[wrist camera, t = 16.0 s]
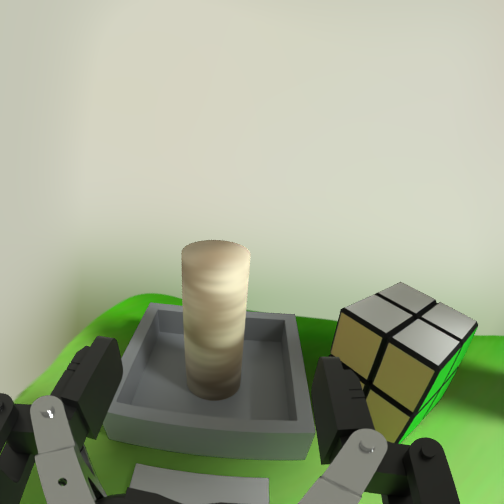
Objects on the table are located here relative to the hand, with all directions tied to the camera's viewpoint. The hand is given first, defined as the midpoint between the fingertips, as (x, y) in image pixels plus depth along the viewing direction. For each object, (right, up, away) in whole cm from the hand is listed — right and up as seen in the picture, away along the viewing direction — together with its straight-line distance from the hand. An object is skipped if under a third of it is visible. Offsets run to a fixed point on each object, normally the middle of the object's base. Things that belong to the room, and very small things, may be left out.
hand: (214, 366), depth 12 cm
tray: (-2, -8, +17) cm, 19 cm away
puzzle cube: (+15, -10, +16) cm, 24 cm away
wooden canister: (-2, -8, +16) cm, 18 cm away
